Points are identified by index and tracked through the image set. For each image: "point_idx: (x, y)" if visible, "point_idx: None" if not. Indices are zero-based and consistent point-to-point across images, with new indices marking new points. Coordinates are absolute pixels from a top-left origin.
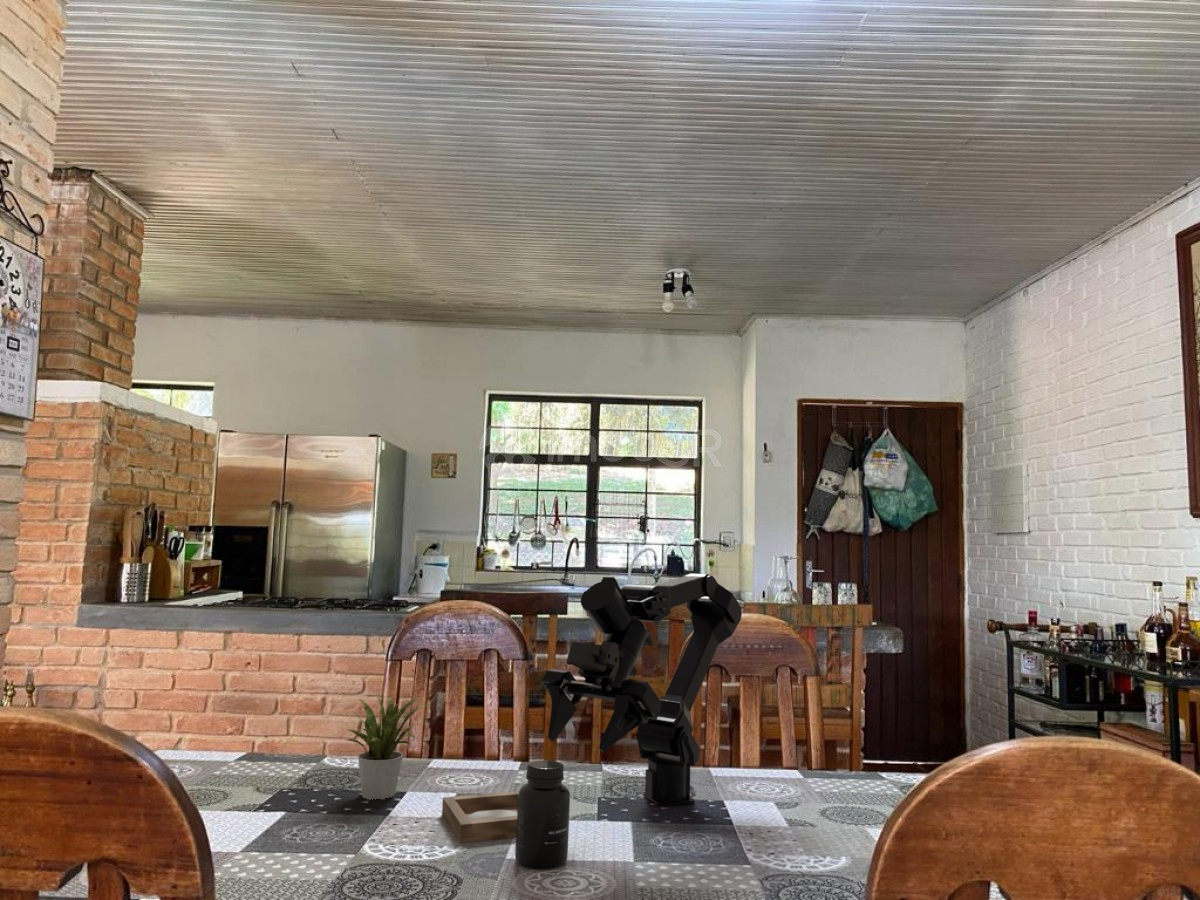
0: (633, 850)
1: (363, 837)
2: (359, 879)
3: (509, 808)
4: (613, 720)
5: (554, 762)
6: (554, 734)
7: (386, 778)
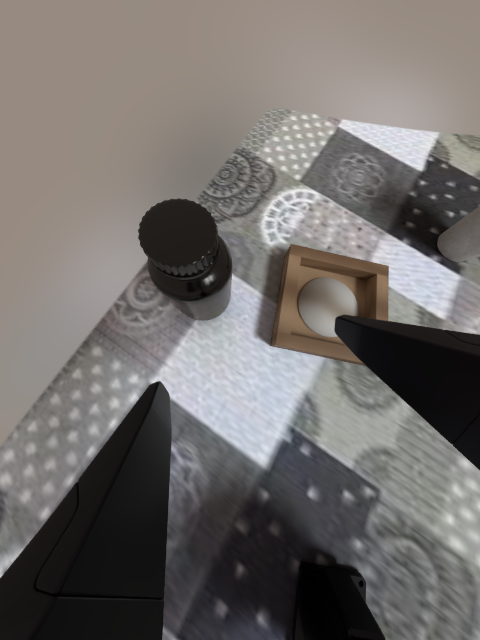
0: (176, 403)
1: (334, 197)
2: (246, 166)
3: None
4: (71, 511)
5: (182, 254)
6: (348, 335)
7: (463, 231)
